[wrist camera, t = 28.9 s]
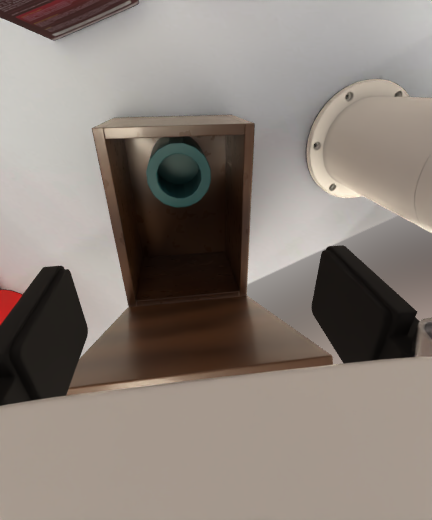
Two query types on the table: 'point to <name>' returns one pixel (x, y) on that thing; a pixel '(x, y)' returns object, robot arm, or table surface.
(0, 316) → the mug
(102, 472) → the robot arm
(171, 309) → the lid
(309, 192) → the table surface
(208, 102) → the table surface
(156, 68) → the table surface
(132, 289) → the chest
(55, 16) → the supplement box
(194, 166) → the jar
